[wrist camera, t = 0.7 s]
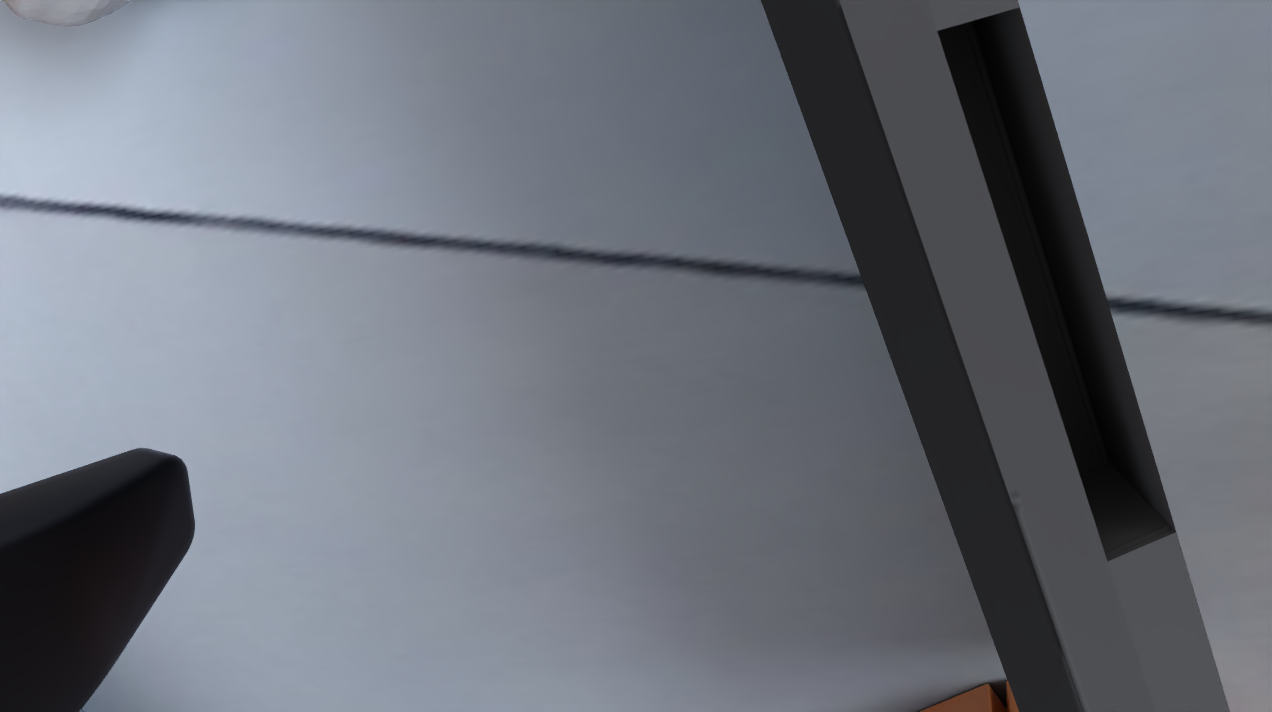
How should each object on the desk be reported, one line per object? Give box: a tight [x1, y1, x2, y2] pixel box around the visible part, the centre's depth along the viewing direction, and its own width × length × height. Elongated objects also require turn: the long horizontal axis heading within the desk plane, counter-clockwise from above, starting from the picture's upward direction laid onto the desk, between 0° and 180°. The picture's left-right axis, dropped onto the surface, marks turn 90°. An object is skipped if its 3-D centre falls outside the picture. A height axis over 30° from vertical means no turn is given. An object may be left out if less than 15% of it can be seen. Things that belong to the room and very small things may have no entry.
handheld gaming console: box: [761, 0, 1230, 712], centre depth 16 cm, size 23×3×10 cm, turn 23°
